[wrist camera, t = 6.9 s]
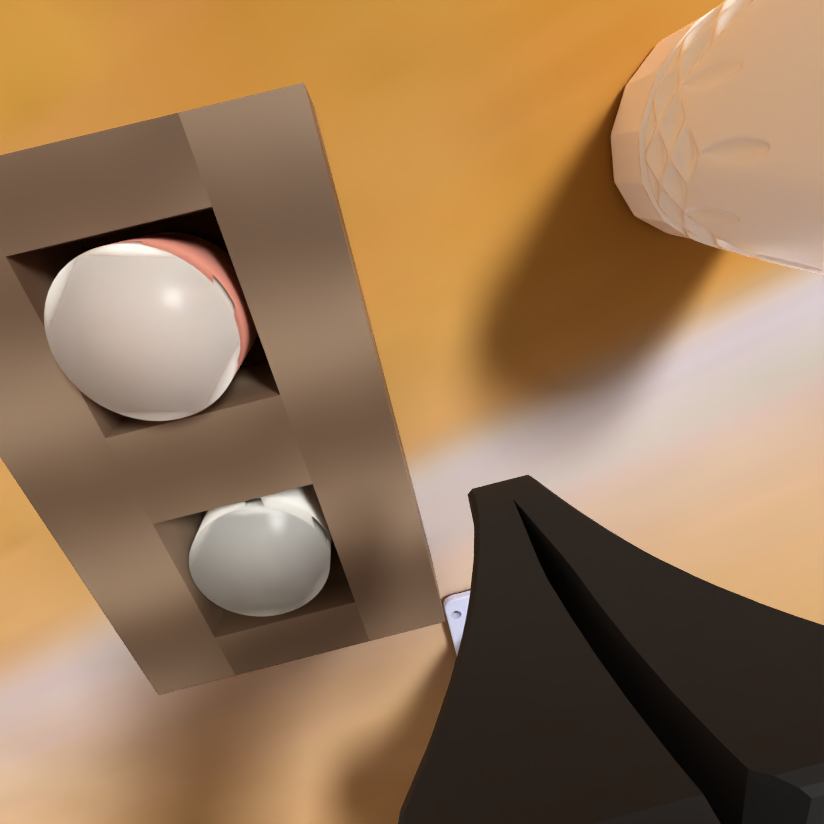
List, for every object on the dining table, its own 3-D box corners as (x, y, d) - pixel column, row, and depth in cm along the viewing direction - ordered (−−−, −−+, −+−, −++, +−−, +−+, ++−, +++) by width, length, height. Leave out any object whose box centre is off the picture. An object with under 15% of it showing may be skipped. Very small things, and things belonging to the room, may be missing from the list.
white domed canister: (346, 540, 23) (345, 597, 19) (237, 567, 23) (219, 629, 19) (313, 445, 20) (306, 492, 17) (193, 475, 20) (165, 528, 17)
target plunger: (279, 360, 18) (264, 397, 15) (143, 394, 18) (99, 438, 15) (227, 215, 16) (197, 222, 13) (73, 252, 16) (4, 269, 13)
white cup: (580, 32, 16) (876, -165, 7) (815, -37, 16) (1416, -325, 7) (603, 274, 19) (825, 349, 10) (798, 216, 19) (1191, 242, 10)
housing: (430, 556, 24) (445, 621, 20) (187, 618, 24) (158, 695, 20) (313, 106, 16) (303, 82, 12) (-55, 194, 16) (-173, 197, 12)
